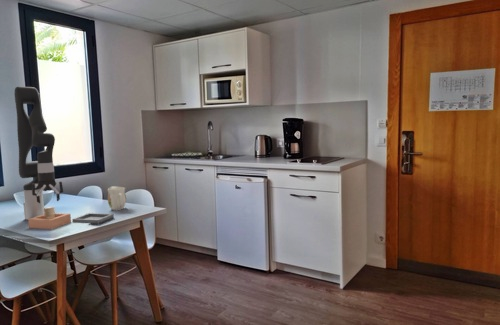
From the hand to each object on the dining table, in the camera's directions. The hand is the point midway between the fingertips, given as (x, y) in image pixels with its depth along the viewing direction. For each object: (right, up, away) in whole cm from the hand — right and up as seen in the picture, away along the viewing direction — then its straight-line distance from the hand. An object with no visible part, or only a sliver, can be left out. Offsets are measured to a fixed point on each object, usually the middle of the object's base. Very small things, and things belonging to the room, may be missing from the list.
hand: (48, 202), depth 198 cm
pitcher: (+23, -9, +39) cm, 46 cm away
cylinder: (0, -12, +1) cm, 12 cm away
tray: (+19, -12, +11) cm, 25 cm away
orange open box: (0, -13, +2) cm, 13 cm away
